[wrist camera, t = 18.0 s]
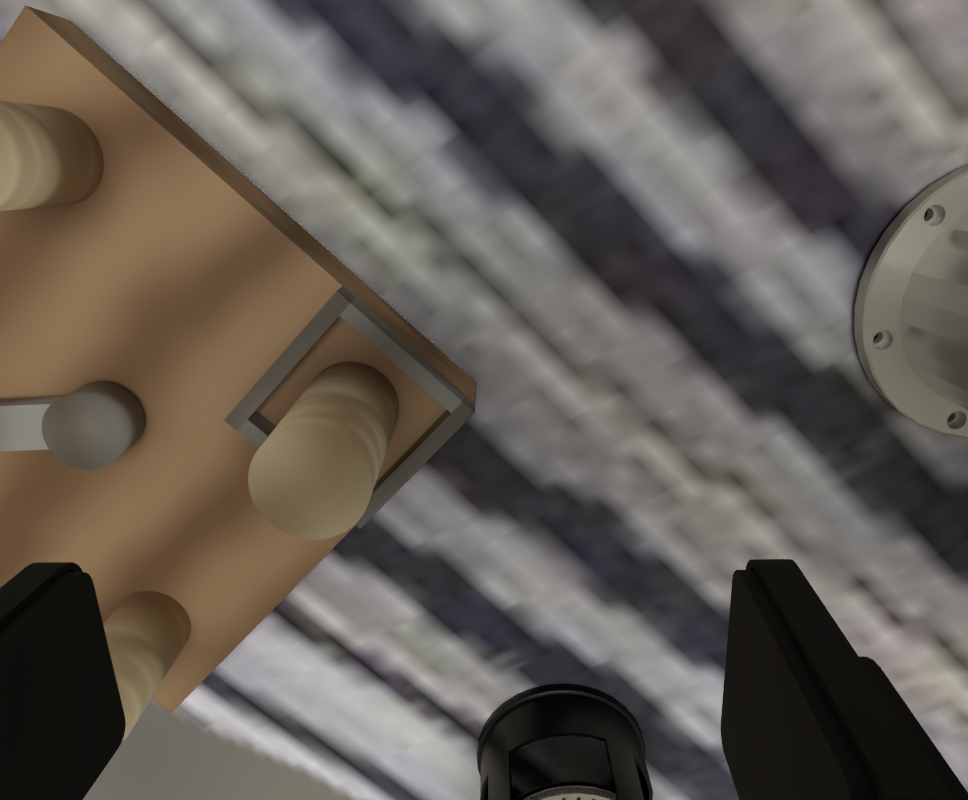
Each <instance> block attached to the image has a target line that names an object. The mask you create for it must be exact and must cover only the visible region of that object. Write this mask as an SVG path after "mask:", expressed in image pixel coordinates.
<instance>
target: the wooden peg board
mask: <svg viewBox="0 0 968 800" xmlns="http://www.w3.org/2000/svg"><path fill="white" fill-rule="evenodd" d="M347 361H352V362H361V363H364V364H367V365H370V366H372V367H374V368H376V369H377V370H379V371H380V372H381V373H383V374H384V375H385V376H386V377H387V378H388V379H389V381H390V382H391V383H392V385H393V387H394V388H395V391H396V393H397V396H398V401H399V415H398V419H397V423H396V425H395V428H394V431H393V434H392V437H391V440H390V443H389V446H388V449H387V451H386V454H385V457H384V460H383V463H382V466H381V469H380V472H379V475H378V478H377V480H376V483H375V486H374V489H373V492H372V495H371V498H370V501H369V504H368V506H367V508H366V511H365V512H364V514H363V516H362V517H361V518H360V520H359V521H358V522H357V523H356V524H355V525H356V526H357V527H358V528H359V529H361V527H362V526H363V525H364V524H365V523H366V522H367V521H368V520H369V519H370V518H371V517H372V516H373V515H374V514H375V513H376V512H377V511H378V510H379V509H380V508H381V507H382V506H383V505H384V504H385V503H386V502H387V501H388V500H389V499H390V498H391V497H392V496H393V495H394V494H395V493H396V492H397V491H398V490H399V489H400V488H401V487H402V486H403V485H404V484H405V483H406V482H407V481H408V480H409V479H410V478H411V477H412V476H413V475H414V474H415V473H416V472H417V471H418V470H419V469H420V468H421V467H422V466H423V465H424V464H425V463H426V462H427V461H428V460H429V459H430V458H431V457H432V455H433V454H434V453H435V452H436V451H437V450H438V449H439V448H440V447H441V446H442V445H443V444H444V443H445V442H446V441H447V440H448V439H449V438H450V437H451V436H452V435H453V434H454V433H455V432H456V431H457V430H458V429H459V428H460V427H461V426H462V425H463V424H464V423H465V422H466V421H467V420H468V419H469V418H470V417H471V416H472V415H473V414H474V413H475V399H476V382H474V381H473V380H472V379H471V378H470V377H469V376H468V375H467V374H466V373H464V372H463V371H462V370H461V369H460V368H459V367H458V366H457V365H455V364H454V363H453V362H452V361H451V360H450V359H449V358H448V357H446V356H445V355H444V354H443V353H442V352H441V351H440V350H439V349H438V348H436V347H435V346H434V345H433V344H432V343H431V342H430V341H429V340H427V339H426V338H425V337H424V336H423V335H422V334H421V333H420V332H418V331H417V330H416V329H415V328H414V327H413V326H412V325H411V324H409V323H408V322H407V321H406V320H405V319H404V318H403V317H402V316H401V315H399V314H398V313H397V312H396V311H395V310H394V309H393V308H392V307H390V306H389V305H388V304H387V303H386V302H385V301H384V300H383V299H381V298H380V297H379V296H378V295H377V294H376V293H375V292H374V291H373V290H371V289H370V288H369V287H368V286H367V285H366V284H365V283H364V282H362V281H361V280H360V279H359V278H358V277H357V276H356V275H355V274H353V273H352V272H351V271H350V270H349V269H348V268H347V267H346V266H345V265H343V264H342V263H341V262H340V261H339V260H338V259H337V258H336V257H334V256H333V255H332V254H331V253H330V252H329V251H328V250H327V249H325V248H324V247H323V246H322V245H321V244H320V243H319V242H318V241H317V240H315V239H314V238H313V237H312V236H311V235H310V234H309V233H308V232H306V231H305V230H304V229H303V228H302V227H301V226H300V225H299V224H297V223H296V222H295V221H294V220H293V219H292V218H291V217H290V216H289V215H287V214H286V213H285V212H284V211H283V210H282V209H281V208H280V207H278V206H277V205H276V204H275V203H274V202H273V201H272V200H271V199H269V198H268V197H267V196H266V195H265V194H264V193H263V192H262V191H261V190H259V189H258V188H257V187H256V186H255V185H254V184H253V183H252V182H250V181H249V180H248V179H247V178H246V177H245V176H244V175H243V174H241V173H240V172H239V171H238V170H237V169H236V168H235V167H234V166H233V165H231V164H230V163H229V162H228V161H227V160H226V159H225V158H224V157H222V156H221V155H220V154H219V153H218V152H217V151H216V150H215V149H213V148H212V147H211V146H210V145H209V144H208V143H207V142H206V141H204V140H203V139H202V138H201V137H200V136H199V135H198V134H197V133H196V132H194V131H193V130H192V129H191V128H190V127H189V126H188V125H187V124H185V123H184V122H183V121H182V120H181V119H180V118H179V117H178V116H176V115H175V114H174V113H173V112H172V111H171V110H170V109H169V108H168V107H166V106H165V105H164V104H163V103H162V102H161V101H160V100H159V99H157V98H156V97H155V96H154V95H153V94H152V93H151V92H150V91H148V90H147V89H146V88H145V87H144V86H143V85H142V84H141V83H140V82H138V81H137V80H136V79H135V78H134V77H133V76H132V75H131V74H129V73H128V72H127V71H126V70H125V69H124V68H123V67H122V66H120V65H119V64H118V63H117V62H116V61H115V60H114V59H113V58H112V57H110V56H109V55H108V54H107V53H106V52H105V51H104V50H103V49H101V48H100V47H99V46H98V45H97V44H96V43H95V42H94V41H92V40H91V39H90V38H89V37H88V36H87V35H86V34H85V33H84V32H82V31H81V30H80V29H79V28H78V27H77V26H76V25H75V24H73V23H72V22H71V21H70V20H67V19H64V18H61V17H58V16H55V15H52V14H49V13H46V12H43V11H40V10H37V9H34V8H31V7H28V6H25V7H24V9H23V10H22V12H21V13H20V15H19V16H18V18H17V19H16V21H15V22H14V24H13V25H12V27H11V28H10V30H9V31H8V33H7V35H6V36H5V38H4V39H3V41H2V42H1V44H0V399H17V398H40V397H63V396H66V395H67V394H69V393H71V392H73V391H75V390H76V389H78V388H80V387H82V386H84V385H86V384H88V383H91V382H97V381H104V382H110V383H114V384H116V385H119V386H121V387H123V388H124V389H126V390H127V391H128V392H129V393H131V394H132V395H133V396H134V397H135V399H136V400H137V401H138V403H139V405H140V407H141V409H142V412H143V415H144V429H143V432H142V434H141V437H140V438H139V440H138V441H137V442H136V443H135V444H134V445H132V446H131V447H130V448H129V449H127V450H126V451H125V452H124V453H122V454H121V455H120V456H119V457H117V458H116V459H115V460H114V461H112V462H111V463H110V464H109V465H107V466H105V467H103V468H100V469H96V470H82V469H77V468H74V467H71V466H69V465H67V464H65V463H63V462H62V461H60V460H59V459H58V458H57V457H56V456H55V455H54V454H53V453H52V452H51V451H50V450H49V449H48V450H24V451H0V588H1V587H2V586H3V585H4V584H6V583H7V582H8V581H9V580H10V579H12V578H13V577H14V576H15V575H17V574H18V573H19V572H20V571H22V570H23V569H24V568H25V567H26V566H28V565H30V564H32V563H38V562H73V563H76V564H78V565H79V566H80V568H81V569H82V571H83V572H86V573H88V574H89V575H90V576H91V578H92V580H93V583H94V588H95V592H96V596H97V600H98V605H99V609H100V613H101V617H102V621H103V626H104V630H105V634H106V638H107V643H108V647H109V651H110V655H111V660H112V664H113V668H114V672H115V677H116V681H117V685H118V689H119V694H120V698H121V702H122V706H123V710H124V715H125V721H126V726H125V733H124V737H123V740H125V739H126V737H127V736H128V735H129V733H130V732H131V730H132V728H133V727H134V725H135V724H136V722H137V720H138V719H139V717H140V716H141V714H142V712H143V711H144V709H145V707H146V706H147V704H148V703H149V701H150V700H151V699H153V700H154V701H156V702H157V703H158V704H160V705H161V706H163V707H164V708H166V709H167V710H169V711H170V712H173V711H174V710H175V709H176V708H177V707H178V706H179V705H180V704H181V703H182V702H183V700H184V699H185V698H186V697H187V696H188V695H189V694H190V693H191V692H192V691H193V690H194V689H195V688H196V687H197V686H198V685H199V684H200V683H201V682H202V681H203V680H204V679H205V678H206V677H207V676H208V675H209V674H210V673H211V672H212V671H213V670H214V669H215V668H216V667H217V666H218V665H219V664H220V663H221V662H222V661H223V660H224V659H225V658H226V657H227V656H228V655H229V654H230V653H231V652H232V651H233V650H234V649H235V648H236V647H237V646H238V644H239V643H240V642H241V641H242V640H243V639H244V638H245V637H246V636H247V635H248V634H249V633H250V632H251V631H252V630H253V629H254V628H255V627H256V626H257V625H258V624H259V623H260V622H261V621H262V620H263V619H264V618H265V617H266V616H267V615H268V614H269V613H270V612H271V611H272V610H273V609H274V608H275V607H276V606H277V605H278V604H279V603H280V602H281V601H282V600H283V599H284V598H285V597H286V596H287V595H288V594H289V593H290V592H291V591H292V590H293V588H294V587H295V586H296V585H297V584H298V583H299V582H300V581H301V580H302V579H303V578H304V577H305V576H306V575H307V574H308V573H309V572H310V571H311V570H312V569H313V568H314V567H315V566H316V565H317V564H318V563H319V562H320V561H321V560H322V559H323V558H324V557H325V556H326V555H327V554H328V553H329V552H330V551H331V550H332V549H333V548H334V547H335V546H336V545H337V544H338V543H339V542H340V541H341V540H342V539H343V538H344V537H345V536H346V535H347V534H348V532H349V531H350V530H351V529H352V528H353V527H354V526H355V525H354V526H353V527H351V528H350V529H349V530H347V531H346V532H344V533H342V534H340V535H337V536H334V537H331V538H327V539H319V540H308V539H301V538H297V537H293V536H291V535H288V534H286V533H284V532H282V531H280V530H278V529H277V528H275V527H274V526H272V525H271V524H270V523H269V522H268V521H266V520H265V518H264V517H263V516H262V515H261V514H260V513H259V511H258V510H257V508H256V506H255V505H254V503H253V500H252V498H251V495H250V491H249V486H248V473H249V468H250V464H251V462H252V459H253V457H254V455H255V453H256V452H257V451H258V449H259V448H260V447H261V445H262V444H263V443H264V442H265V440H266V439H267V438H268V437H269V435H270V434H271V433H272V431H273V430H274V429H275V428H276V426H277V425H278V424H279V423H280V421H281V420H282V419H283V418H284V416H285V415H286V414H287V413H288V411H289V410H290V409H291V407H292V406H293V405H294V404H295V402H296V401H297V400H298V399H299V397H300V396H301V395H302V394H303V392H304V391H305V390H306V389H307V387H308V386H309V385H310V383H311V382H312V381H313V380H314V378H315V377H316V376H317V375H318V374H319V373H320V372H321V371H322V370H324V369H325V368H327V367H329V366H331V365H333V364H336V363H340V362H347ZM123 740H122V741H123Z"/></svg>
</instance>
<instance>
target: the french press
mask: <svg viewBox="0 0 968 800" xmlns="http://www.w3.org/2000/svg"><path fill="white" fill-rule="evenodd" d="M570 735H573V736H583V737H590V738H594V739H597V740H601V741H604V742H605V746H606V751H607V756H608V761H609V766H610V771H611V776H612V780H613V781H612V782H611V783H610V784H609V785H606V784H602V783H597V782H591V781H560V782H555V783H550V784H545V785H542V786H539V787H536V788H534V789H531V790H529V791H527V792H525V793H523V794H521V793H520V792H519V791H517V790H516V789H515V788H514V787H513V786H512V771H511V753H512V752H514V751H516V750H517V749H519V748H521V747H522V746H524V745H527V744H529V743H532V742H534V741H537V740H540V739H545V738H549V737H554V736H570ZM477 763H478V770H479V773H480V776H481V791H480V800H652V798H653V791H652V787H651V783H650V779H649V775H648V771H647V768H646V764H645V744H644V740H643V736H642V733H641V730H640V728H639V726H638V724H637V722H636V720H635V718H634V717H633V716H632V715H631V714H630V713H629V711H628V710H627V709H626V708H625V707H624V706H623V705H621V704H620V703H619V702H618V701H616V700H615V699H614V698H612V697H610V696H608V695H606V694H604V693H602V692H600V691H598V690H594V689H591V688H587V687H584V686H577V685H568V684H563V685H548V686H543V687H539V688H534V689H531V690H528V691H526V692H523V693H521V694H518V695H517V696H515V697H513V698H512V699H510V700H508V701H507V702H505V703H504V704H503V705H502V706H501V707H500V708H498V709H497V710H496V711H495V712H494V713H493V714H492V716H491V717H490V719H489V720H488V721H487V723H486V724H485V726H484V728H483V731H482V733H481V735H480V738H479V742H478V748H477Z"/></svg>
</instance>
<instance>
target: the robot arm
mask: <svg viewBox="0 0 968 800" xmlns="http://www.w3.org/2000/svg"><path fill="white" fill-rule="evenodd" d="M926 210H927V212H928V213H927V216H926V218H925V219H924V214H925V212H926ZM877 333H878V335H877V338H876V339H875V340H873V338H874V337H875V335H876V334H877ZM854 335H855V340H856V345H857V350H858V355H859V359H860V361H861V364H862V366H863V368H864V370H865V373H866V375H867V377H868V379H869V381H870V382H871V384H872V385H873V386H874V388H875V389H876V390H877V392H878V393H879V394H880V396H881V397H882V398H883V399H884V400H885V401H886V402H888V403H889V404H890V405H891V406H892V407H893V408H895V409H896V410H897V411H898V412H899V413H901V414H903V415H904V416H906V417H908V418H909V419H911V420H913V421H914V422H916V423H918V424H919V425H921V426H924V427H926V428H929V429H931V430H934V431H936V432H939V433H942V434H946V435H952V436H958V437H963V438H968V165H967V166H964V167H962V168H959V169H957V170H955V171H953V172H952V173H950V174H948V175H947V176H945V177H943V178H942V179H940V180H939V181H937V182H935V183H934V184H932V185H930V186H929V187H928V188H927V189H925V190H924V191H923V192H922V193H921V194H919V195H918V196H917V197H916V198H915V199H914V200H912V201H911V202H910V203H909V204H908V205H907V206H905V208H904V209H903V210H902V211H901V212H900V213H899V215H898V216H897V217H896V218H895V219H894V221H893V222H892V223H891V224H890V225H889V226H888V228H887V229H886V230H885V232H884V233H883V235H882V237H881V238H880V240H879V242H878V243H877V245H876V247H875V248H874V250H873V252H872V253H871V255H870V257H869V260H868V262H867V265H866V267H865V270H864V272H863V275H862V277H861V280H860V283H859V288H858V293H857V298H856V303H855V308H854ZM125 726H126V721H125V715H124V710H123V706H122V702H121V698H120V694H119V689H118V685H117V681H116V677H115V672H114V668H113V664H112V660H111V655H110V651H109V647H108V643H107V638H106V634H105V630H104V626H103V621H102V617H101V613H100V609H99V605H98V600H97V596H96V592H95V588H94V583H93V580H92V578H91V576H90V575H89V574H88V573H86V572H83V571H82V569H81V568H80V566H79V565H78V564H76V563H73V562H38V563H32V564H30V565H28V566H26V567H25V568H24V569H23V570H22V571H20V572H19V573H18V574H17V575H15V576H14V577H13V578H12V579H10V580H9V581H8V582H7V583H6V584H4V585H3V586H2V587H1V588H0V800H83V798H84V797H85V795H86V794H87V792H88V791H89V790H90V788H91V787H92V785H93V784H94V782H95V781H96V779H97V778H98V777H99V775H100V774H101V772H102V771H103V769H104V768H105V767H106V765H107V764H108V762H109V760H110V759H111V758H112V756H113V755H114V754H115V752H116V750H117V749H118V748H119V746H120V744H121V742H122V740H123V737H124V733H125ZM721 738H722V745H723V750H724V754H725V757H726V760H727V763H728V766H729V769H730V772H731V775H732V778H733V781H734V784H735V787H736V790H737V793H738V796H739V799H740V800H968V792H967V791H966V790H965V788H964V787H963V785H962V784H961V782H960V781H959V780H958V778H957V777H956V775H955V774H954V772H953V771H952V770H951V768H950V767H949V765H948V764H947V762H946V761H945V760H944V758H943V757H942V755H941V754H940V752H939V751H938V750H937V748H936V747H935V745H934V744H933V742H932V741H931V739H930V738H929V737H928V735H927V734H926V732H925V731H924V729H923V728H922V727H921V725H920V724H919V722H918V721H917V719H916V718H915V717H914V715H913V714H912V712H911V711H910V709H909V708H908V707H907V705H906V704H905V702H904V701H903V699H902V698H901V697H900V695H899V694H898V692H897V691H896V689H895V688H894V687H893V685H892V684H891V682H890V681H889V679H888V678H887V676H886V675H885V674H884V672H883V671H882V669H881V668H880V667H879V666H878V665H877V664H876V662H875V661H874V660H872V659H870V658H868V657H858V655H857V654H856V652H855V651H854V649H853V648H852V646H851V645H850V643H849V642H848V640H847V639H846V637H845V636H844V634H843V633H842V631H841V630H840V628H839V627H838V625H837V624H836V622H835V621H834V619H833V618H832V616H831V615H830V613H829V612H828V610H827V609H826V607H825V606H824V604H823V603H822V601H821V600H820V598H819V597H818V596H817V594H816V593H815V591H814V590H813V588H812V587H811V585H810V584H809V582H808V581H807V579H806V578H805V576H804V575H803V573H802V572H801V570H800V569H799V567H798V566H797V564H796V563H795V562H794V561H793V560H790V559H767V560H750V561H748V563H747V566H746V570H736V571H735V572H734V574H733V580H732V592H731V604H730V617H729V629H728V642H727V654H726V667H725V679H724V692H723V704H722V717H721Z"/></svg>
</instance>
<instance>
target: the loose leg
mask: <svg viewBox="0 0 968 800" xmlns="http://www.w3.org/2000/svg"><path fill="white" fill-rule="evenodd" d="M398 415H399V401H398V396H397V393H396V391H395V388H394V387H393V385H392V383H391V382H390V381H389V379H388V378H387V377H386V376H385V375H384V374H383V373H381V372H380V371H379V370H377V369H376V368H374V367H372V366H370V365H367V364H364V363H361V362H352V361H347V362H340V363H336V364H333V365H331V366H329V367H327V368H325V369H324V370H322V371H321V372H320V373H319V374H318V375H317V376H316V377H315V378H314V380H313V381H312V382H311V383H310V385H309V386H308V387H307V389H306V390H305V391H304V392H303V394H302V395H301V396H300V397H299V399H298V400H297V401H296V402H295V404H294V405H293V406H292V407H291V409H290V410H289V411H288V413H287V414H286V415H285V416H284V418H283V419H282V420H281V421H280V423H279V424H278V425H277V426H276V428H275V429H274V430H273V431H272V433H271V434H270V435H269V437H268V438H267V439H266V440H265V442H264V443H263V444H262V445H261V447H260V448H259V449H258V451H257V452H256V453H255V455H254V457H253V459H252V462H251V464H250V468H249V473H248V486H249V491H250V495H251V498H252V500H253V503H254V505H255V506H256V508H257V510H258V511H259V513H260V514H261V515H262V516H263V517H264V518H265V520H266V521H268V522H269V523H270V524H271V525H272V526H274V527H275V528H277V529H278V530H280V531H282V532H284V533H286V534H288V535H291V536H293V537H297V538H301V539H308V540H319V539H327V538H331V537H334V536H337V535H340V534H342V533H344V532H346V531H347V530H349V529H350V528H351V527H353V526H354V525H355V524H356V523H357V522H358V521H359V520H360V518H361V517H362V516H363V514H364V512H365V511H366V508H367V506H368V504H369V501H370V498H371V495H372V492H373V489H374V486H375V483H376V480H377V478H378V475H379V472H380V469H381V466H382V463H383V460H384V457H385V454H386V451H387V449H388V446H389V443H390V440H391V437H392V434H393V431H394V428H395V425H396V423H397V419H398Z"/></svg>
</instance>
